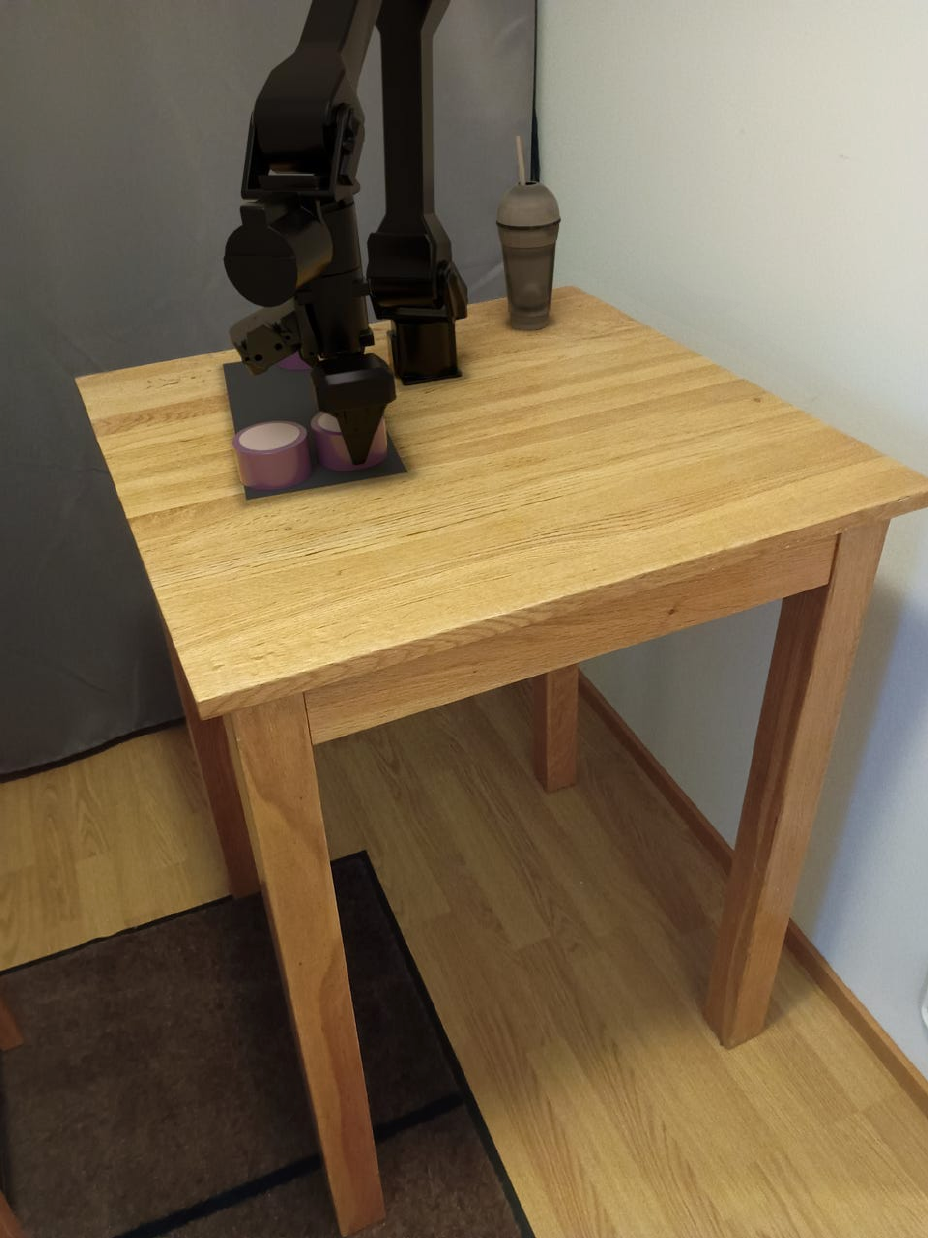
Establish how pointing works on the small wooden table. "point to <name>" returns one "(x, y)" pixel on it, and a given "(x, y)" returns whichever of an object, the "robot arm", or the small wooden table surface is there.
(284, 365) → the short purple cylinder
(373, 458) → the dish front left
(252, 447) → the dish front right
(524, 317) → the beverage cup
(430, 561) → the small wooden table surface
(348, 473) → the placemat
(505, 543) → the small wooden table surface
